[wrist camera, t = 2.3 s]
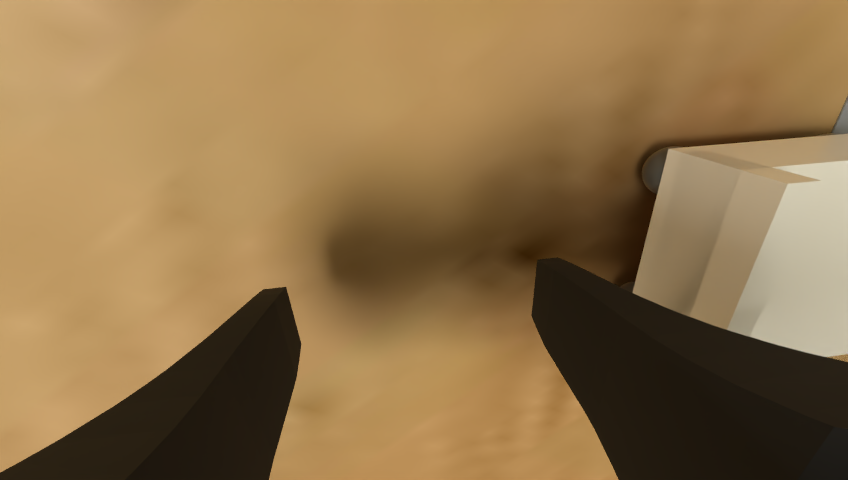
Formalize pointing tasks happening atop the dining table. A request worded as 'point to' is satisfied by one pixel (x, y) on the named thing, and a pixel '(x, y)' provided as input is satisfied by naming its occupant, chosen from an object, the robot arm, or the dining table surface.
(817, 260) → the cream notched block
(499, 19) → the dining table surface
